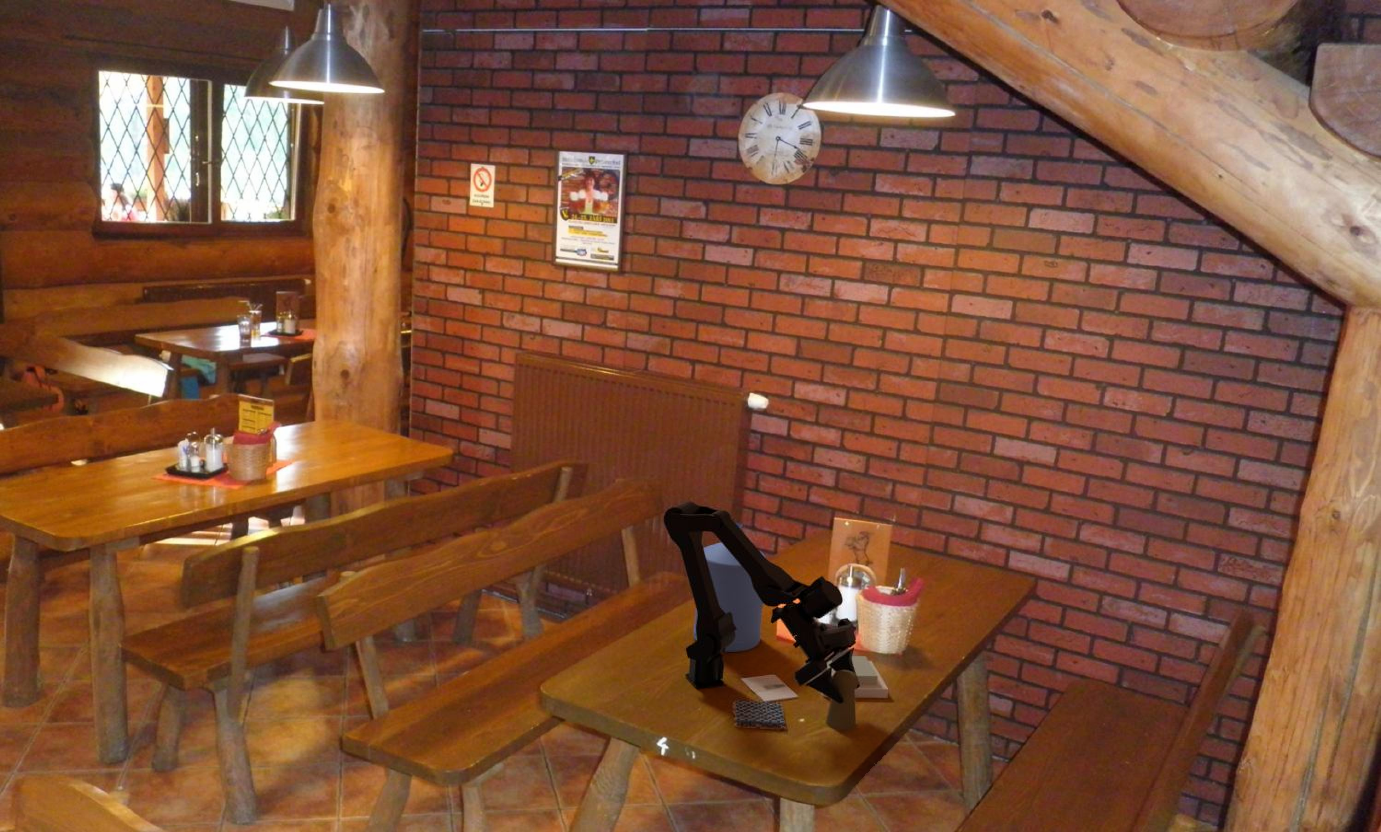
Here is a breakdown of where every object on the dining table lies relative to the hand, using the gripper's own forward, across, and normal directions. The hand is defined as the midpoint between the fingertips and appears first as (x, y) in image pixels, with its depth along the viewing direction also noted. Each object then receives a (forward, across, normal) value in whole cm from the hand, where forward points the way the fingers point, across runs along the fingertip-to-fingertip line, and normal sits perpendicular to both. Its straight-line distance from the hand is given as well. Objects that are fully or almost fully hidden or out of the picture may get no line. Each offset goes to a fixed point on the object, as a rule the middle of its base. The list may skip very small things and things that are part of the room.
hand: (850, 694), depth 234 cm
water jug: (-23, +22, +33) cm, 46 cm away
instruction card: (-10, +5, +19) cm, 22 cm away
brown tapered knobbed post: (+4, 0, +6) cm, 7 cm away
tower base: (-1, +18, +10) cm, 21 cm away
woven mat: (-6, -8, +16) cm, 19 cm away
